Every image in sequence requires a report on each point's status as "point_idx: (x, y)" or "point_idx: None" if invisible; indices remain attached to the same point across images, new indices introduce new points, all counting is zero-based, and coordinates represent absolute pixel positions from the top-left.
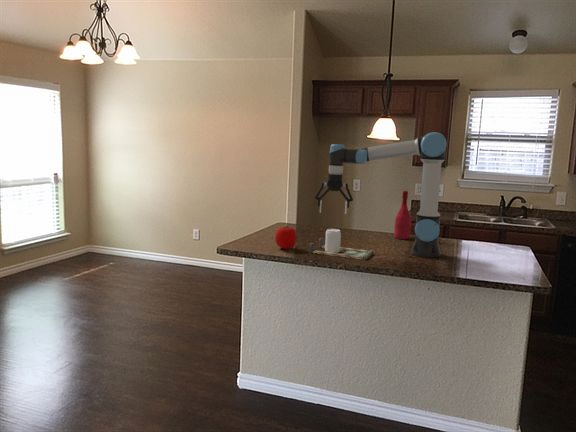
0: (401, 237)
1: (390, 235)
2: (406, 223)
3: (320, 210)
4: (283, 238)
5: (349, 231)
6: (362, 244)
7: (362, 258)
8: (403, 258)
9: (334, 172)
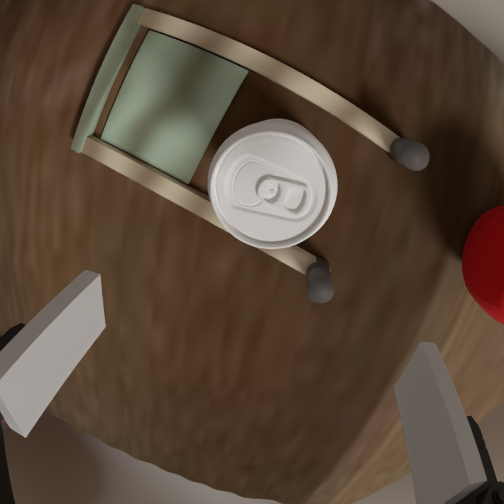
0: None
1: None
2: None
3: (436, 362)
4: None
5: (157, 455)
6: (109, 311)
7: (149, 10)
8: (3, 85)
9: None
